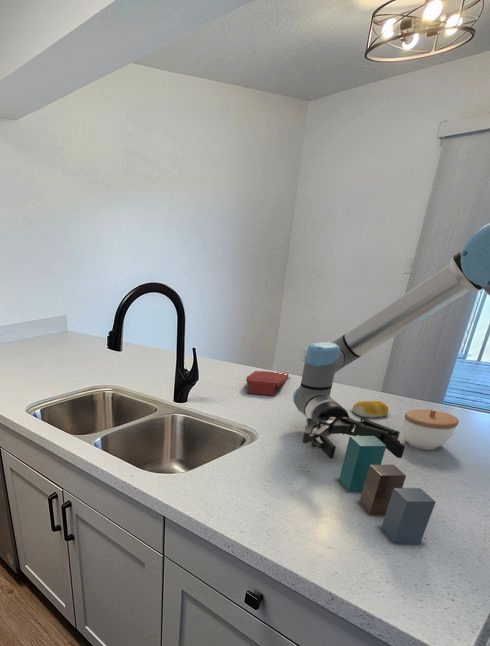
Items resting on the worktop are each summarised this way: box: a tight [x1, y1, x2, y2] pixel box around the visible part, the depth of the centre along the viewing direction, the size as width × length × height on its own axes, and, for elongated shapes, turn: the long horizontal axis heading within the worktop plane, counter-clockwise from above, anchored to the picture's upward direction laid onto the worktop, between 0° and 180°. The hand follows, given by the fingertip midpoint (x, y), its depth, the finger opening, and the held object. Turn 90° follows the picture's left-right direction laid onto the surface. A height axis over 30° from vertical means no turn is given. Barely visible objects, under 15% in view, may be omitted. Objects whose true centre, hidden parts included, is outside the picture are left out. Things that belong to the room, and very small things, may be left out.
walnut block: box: [358, 464, 407, 516], centre depth 86 cm, size 4×4×9 cm
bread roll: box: [351, 400, 389, 419], centre depth 130 cm, size 8×9×4 cm
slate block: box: [380, 487, 437, 545], centre depth 78 cm, size 4×4×9 cm
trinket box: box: [402, 408, 460, 451], centre depth 109 cm, size 11×11×9 cm
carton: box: [245, 370, 289, 397], centre depth 160 cm, size 12×5×25 cm
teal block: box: [338, 435, 387, 493], centre depth 93 cm, size 5×5×11 cm
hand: (366, 452), depth 91 cm, fingers open, 13 cm apart
